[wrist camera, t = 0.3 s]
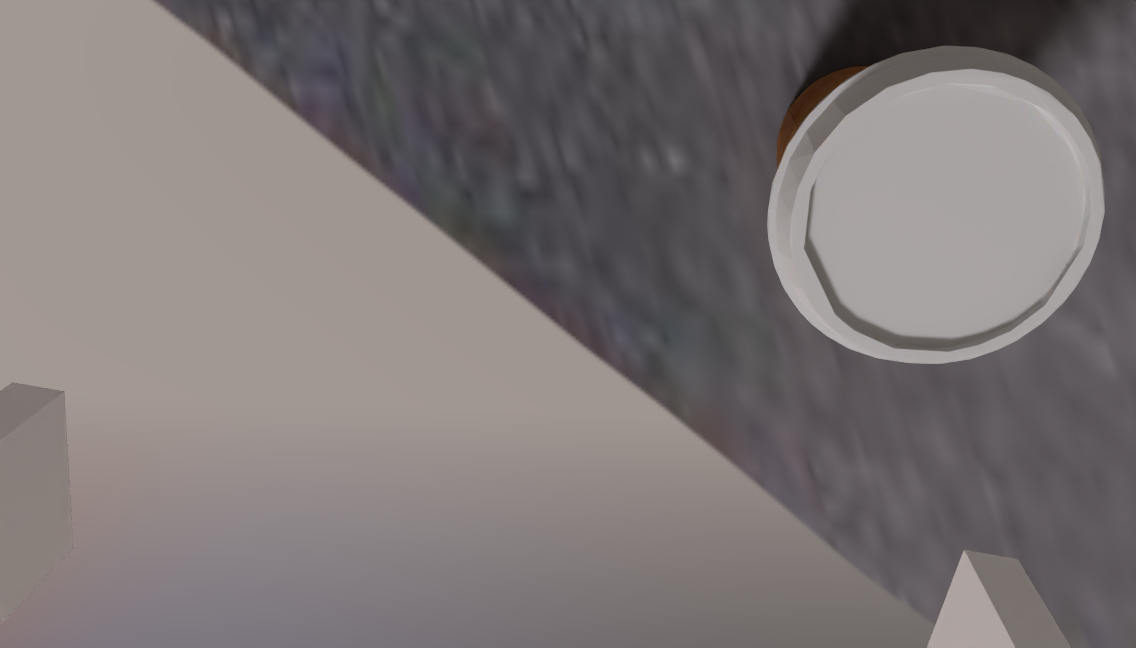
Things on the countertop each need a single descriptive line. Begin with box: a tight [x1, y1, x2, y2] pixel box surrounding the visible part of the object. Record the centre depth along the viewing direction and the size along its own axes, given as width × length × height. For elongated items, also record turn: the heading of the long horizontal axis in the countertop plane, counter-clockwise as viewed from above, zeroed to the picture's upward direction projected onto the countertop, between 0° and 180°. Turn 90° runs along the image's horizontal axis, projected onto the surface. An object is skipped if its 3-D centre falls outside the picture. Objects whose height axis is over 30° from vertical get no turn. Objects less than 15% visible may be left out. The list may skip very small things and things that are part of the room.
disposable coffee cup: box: [767, 46, 1105, 364], centre depth 32 cm, size 10×10×12 cm
